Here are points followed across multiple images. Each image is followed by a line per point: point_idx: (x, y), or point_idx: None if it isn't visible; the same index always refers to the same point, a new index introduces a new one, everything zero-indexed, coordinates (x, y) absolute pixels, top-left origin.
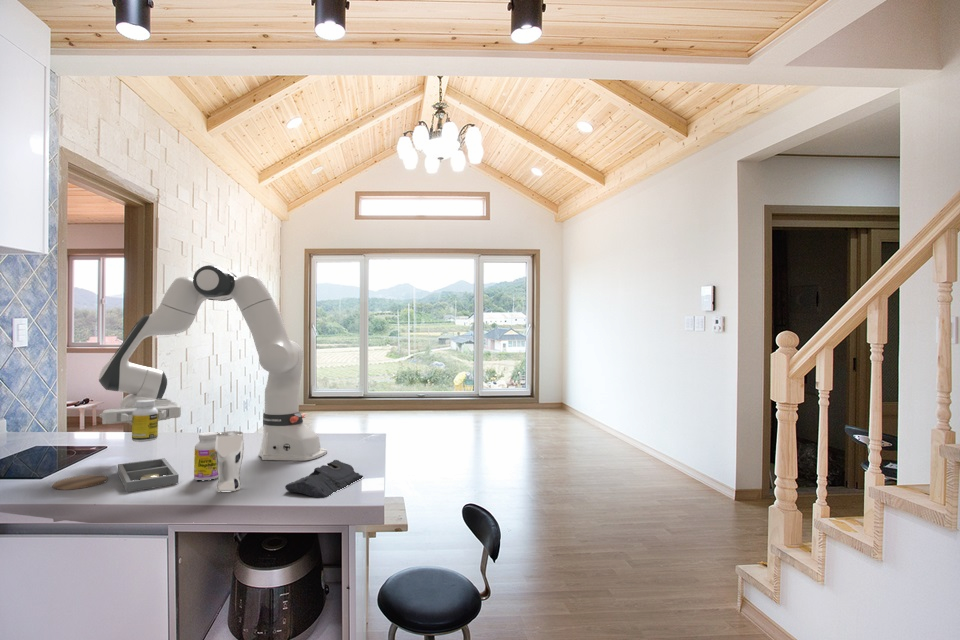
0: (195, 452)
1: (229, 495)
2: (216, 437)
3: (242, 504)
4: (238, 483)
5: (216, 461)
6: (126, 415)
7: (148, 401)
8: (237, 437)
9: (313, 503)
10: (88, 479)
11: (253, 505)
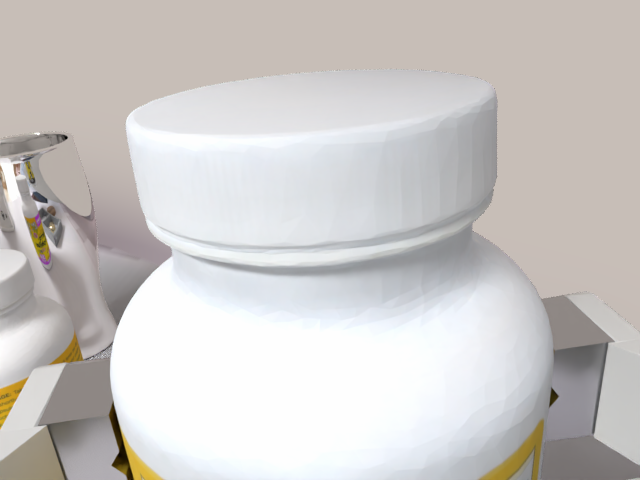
0: (78, 347)
1: (108, 302)
2: (73, 147)
3: (119, 256)
4: None
5: (96, 235)
6: (617, 314)
7: (264, 79)
8: (18, 144)
9: None
10: None
11: (105, 249)
